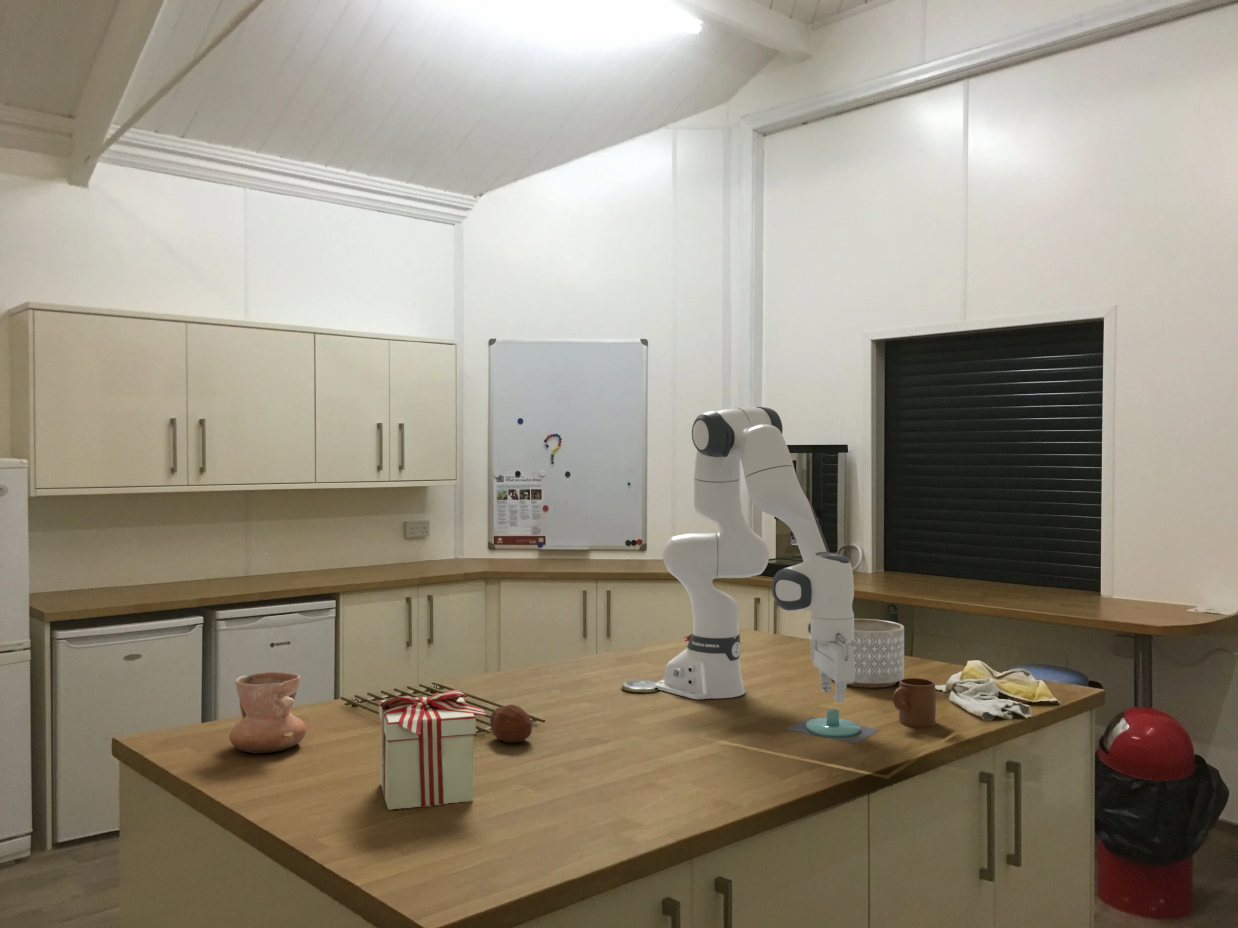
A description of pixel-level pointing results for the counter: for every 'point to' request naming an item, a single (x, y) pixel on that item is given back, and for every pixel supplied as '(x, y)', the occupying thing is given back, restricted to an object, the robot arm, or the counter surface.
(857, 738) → the mat
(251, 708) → the ceramic jug
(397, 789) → the gift box
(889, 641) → the planter
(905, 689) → the mug
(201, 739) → the counter surface
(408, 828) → the counter surface
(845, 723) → the lid
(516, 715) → the potato
